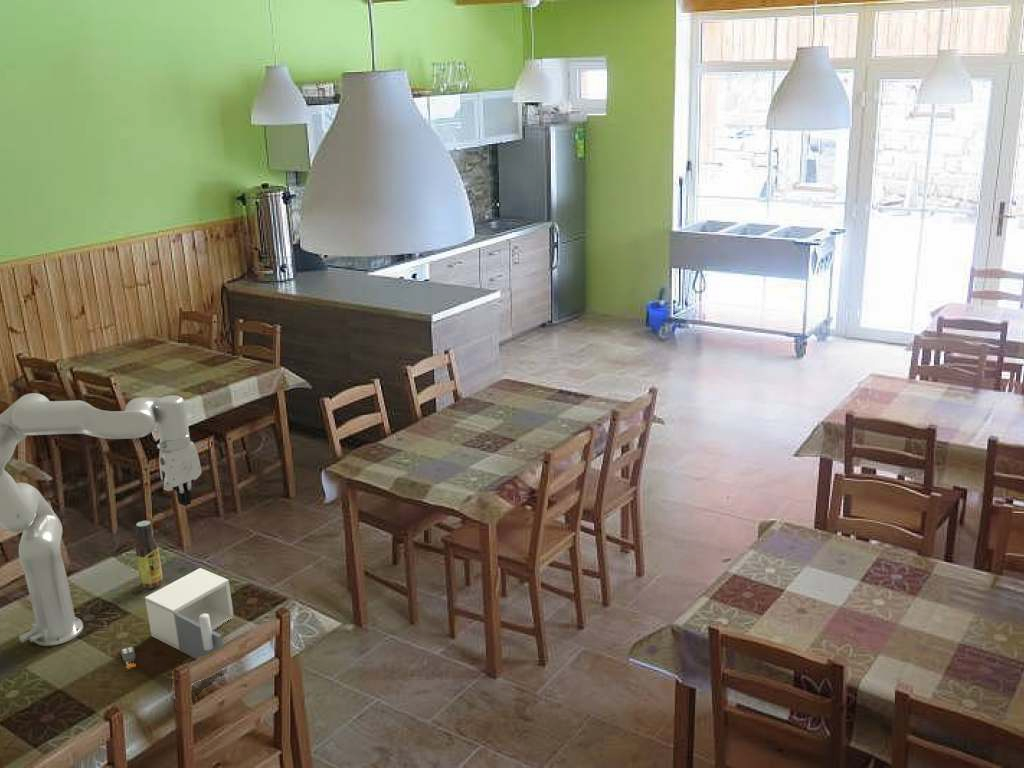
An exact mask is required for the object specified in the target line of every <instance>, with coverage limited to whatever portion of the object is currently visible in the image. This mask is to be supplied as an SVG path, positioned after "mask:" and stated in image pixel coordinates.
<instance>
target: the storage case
mask: <svg viewBox="0 0 1024 768" xmlns="http://www.w3.org/2000/svg"><path fill="white" fill-rule="evenodd" d="M144 600H145V607H146V611H147V612H146V613H147V617H148V622H149V628H150V634H151V637H153V638H154V639H157V640H158V641H161V642H162V643H165V644H167V645H169V646H170V647H173V648H175V649H177V650H179V651H180V649H179V643H178V637H177V631H176V625H175V619H174V613H175V612H178V613H180V614H182V615H184V616H186V617H187V618H189V619H191V620H193V621H195V622H197V623H199V624H200V621H199V616H200V615H201V614H209V619H210V625H211V630H213V631H215V630H216V629H218V628H219V627H221V626H223V625H224V624H226V623H227V621H228V620H229V621H231V620H232V618H233V619H234V618H235V616H234V609H233V601H232V595H231V587H230V581H229V579H227V578H225V577H223V576H221V575H219V574H215V573H214V572H212V571H209V570H206V569H204V568H202V567H199V568H197V569H196V570H194V571H191V572H190V573H187V574H186V575H183V576H182V577H179V579H177V580H174V581H173V582H171V583H169V584H167V585H165V586H163V587H161V588H159V589H158V590H155V591H154V592H152V593H150V594H149V595H148V594H147V596H145V597H144ZM230 619H231V620H230ZM229 621H228V622H229ZM225 622H226V623H225ZM223 623H224V624H223ZM222 624H223V625H222ZM220 625H221V626H220ZM217 627H218V628H217Z"/></svg>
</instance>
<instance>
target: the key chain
mask: <svg viewBox="0 0 1024 768" xmlns="http://www.w3.org/2000/svg"><path fill="white" fill-rule="evenodd" d="M120 655H121V657H122V660H123V661H124V663H125V664H126V666H125V668H126V669H129V668H130V667H134V668H136V667H137V664H136V663H134V662H135V660H136V658H135V657H136V651H135V647H134V646H126V647H124V648H122V649H120ZM134 659H135V660H134ZM131 661H133V663H131ZM129 662H130V663H129Z"/></svg>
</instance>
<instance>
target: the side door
mask: <svg viewBox="0 0 1024 768" xmlns="http://www.w3.org/2000/svg"><path fill="white" fill-rule="evenodd" d="M174 619H175V625H176V631H177V637H178V643H179V649H180V650H179V649H178V650H179V651H180V652H182V653H184V654H186V655H188V656H189V657H192V658H193V659H195V658H198V657H201V656H205V655H207V654H209V653H211V652H213V651H215V650H217V649H219V648H220V647H222V646H223V647H224V641H223V635H222V634H221V633H218V632H216V631H215V630H211V625H210V619H209V614H201V615H200V616H199V621H200V624H199V623H197V622H195V621H193V620H191V619H189V618H187V617H186V616H184V615H182V614H180V613H178V612H175V613H174ZM219 673H220V674H222V675H226V674H227V673H228V669H227V666H226V668H225V669H224V670H222V671H220V672H219Z"/></svg>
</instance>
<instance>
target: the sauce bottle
mask: <svg viewBox="0 0 1024 768" xmlns="http://www.w3.org/2000/svg"><path fill="white" fill-rule="evenodd" d="M135 527H136V530H137V538H138V539H137V541H136V544H135V551H136V553H135V554H136V562H137V567H138V575H139V581H140V585H141V587H142V588H144V589H148V590H149V589H150V590H151V589H153V588H154V589H155V588H157V587H160V586H161V585H162V583H163V577H164V576H163V572H162V565H161V562H162V561H161V556H160V550H159V545H158V543H157V541H156V540H155V538H154V537H153V533H152V522H151V521H150V520H142V521H138V522H137V523H136V524H135Z"/></svg>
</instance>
